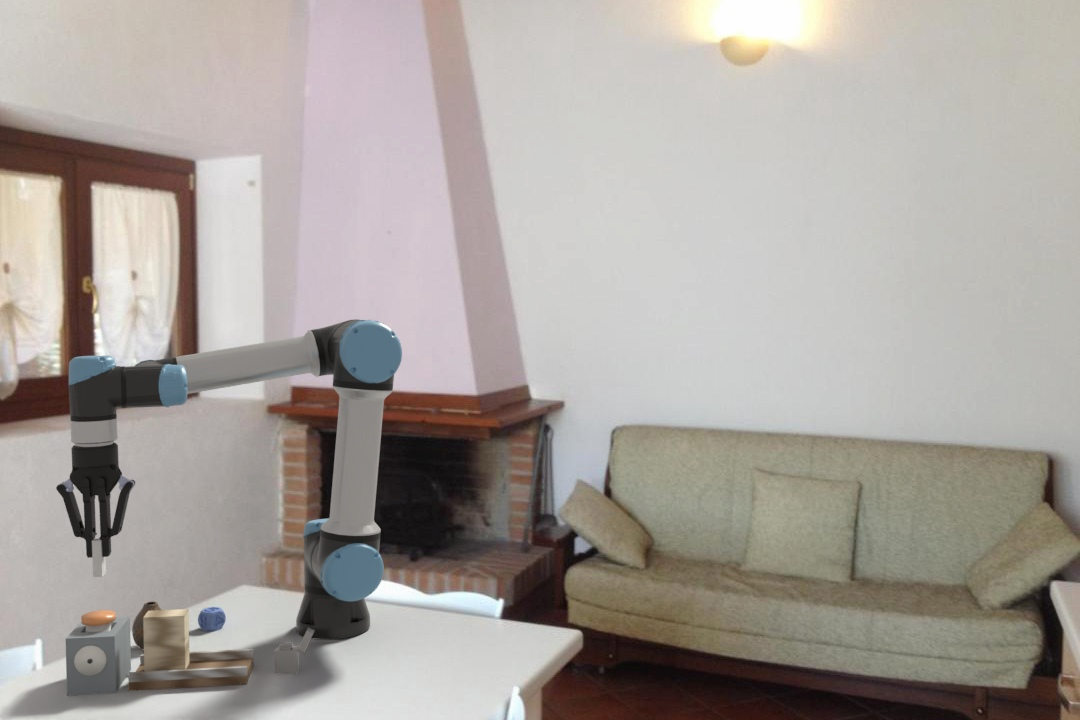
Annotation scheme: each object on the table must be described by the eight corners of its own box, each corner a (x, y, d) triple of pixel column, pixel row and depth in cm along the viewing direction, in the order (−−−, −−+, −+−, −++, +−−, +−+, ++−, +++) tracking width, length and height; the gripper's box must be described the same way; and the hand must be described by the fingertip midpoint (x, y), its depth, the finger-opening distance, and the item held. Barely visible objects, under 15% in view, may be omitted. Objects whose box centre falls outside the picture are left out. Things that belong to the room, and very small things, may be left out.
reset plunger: (120, 652, 182) (119, 609, 182) (112, 663, 177) (111, 619, 176) (87, 654, 181) (86, 611, 181) (78, 665, 176) (77, 620, 175)
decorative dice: (226, 627, 210) (225, 608, 210) (210, 632, 206) (210, 613, 206) (213, 624, 212) (212, 605, 212) (197, 629, 209) (197, 610, 208)
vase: (157, 654, 194) (156, 609, 193) (125, 651, 195) (124, 607, 195) (177, 642, 200) (176, 599, 200) (146, 639, 202) (145, 597, 201)
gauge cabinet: (131, 669, 185) (129, 616, 185) (114, 694, 174) (113, 637, 173) (85, 672, 184) (83, 618, 183) (65, 696, 173) (64, 639, 172)
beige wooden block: (189, 662, 184) (188, 608, 183) (185, 670, 180) (184, 615, 179) (149, 664, 182) (148, 610, 182) (144, 672, 178) (143, 617, 178)
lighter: (274, 673, 184) (274, 630, 183) (276, 670, 185) (275, 627, 185) (313, 672, 184) (313, 630, 184) (315, 669, 186) (314, 626, 185)
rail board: (253, 664, 188) (253, 648, 188) (246, 684, 179) (246, 667, 178) (141, 670, 185) (141, 654, 185) (128, 690, 175) (128, 674, 175)
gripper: (138, 439, 182) (143, 567, 183) (61, 441, 179) (67, 571, 181) (128, 445, 174) (133, 578, 176) (48, 447, 172) (54, 582, 174)
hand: (99, 574), depth 178 cm, fingers closed
